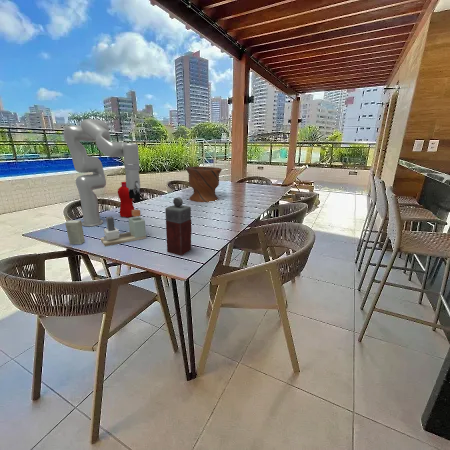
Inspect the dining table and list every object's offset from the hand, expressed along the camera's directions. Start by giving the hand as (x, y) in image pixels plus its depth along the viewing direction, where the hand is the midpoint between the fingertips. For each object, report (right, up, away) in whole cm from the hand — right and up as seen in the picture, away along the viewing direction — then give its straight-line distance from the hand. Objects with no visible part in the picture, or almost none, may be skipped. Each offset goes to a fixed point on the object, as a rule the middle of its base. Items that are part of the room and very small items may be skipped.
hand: (134, 199), depth 137 cm
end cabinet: (-1, -19, +7) cm, 20 cm away
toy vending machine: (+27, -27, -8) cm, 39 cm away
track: (-7, -22, +2) cm, 23 cm away
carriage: (-12, -21, -2) cm, 24 cm away
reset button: (0, -9, +3) cm, 9 cm away
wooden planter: (+29, +12, +106) cm, 111 cm away
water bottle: (-20, -8, +44) cm, 49 cm away
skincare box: (-29, -24, -4) cm, 38 cm away
